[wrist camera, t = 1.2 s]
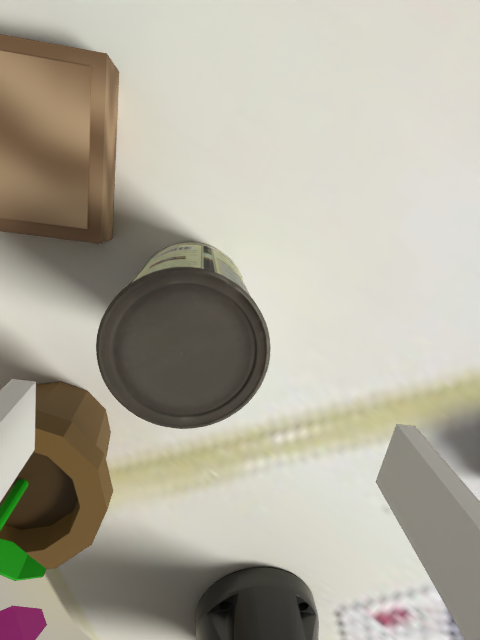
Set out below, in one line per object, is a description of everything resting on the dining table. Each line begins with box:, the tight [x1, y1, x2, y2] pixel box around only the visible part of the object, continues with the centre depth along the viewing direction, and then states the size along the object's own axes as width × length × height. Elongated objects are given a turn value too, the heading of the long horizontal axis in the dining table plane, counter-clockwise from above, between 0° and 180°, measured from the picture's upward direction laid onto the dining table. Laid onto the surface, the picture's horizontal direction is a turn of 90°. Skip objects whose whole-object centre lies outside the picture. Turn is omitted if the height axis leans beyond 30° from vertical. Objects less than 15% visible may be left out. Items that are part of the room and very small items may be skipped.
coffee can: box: [96, 242, 270, 429], centre depth 30 cm, size 10×10×14 cm
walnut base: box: [0, 34, 119, 243], centre depth 30 cm, size 13×13×4 cm
